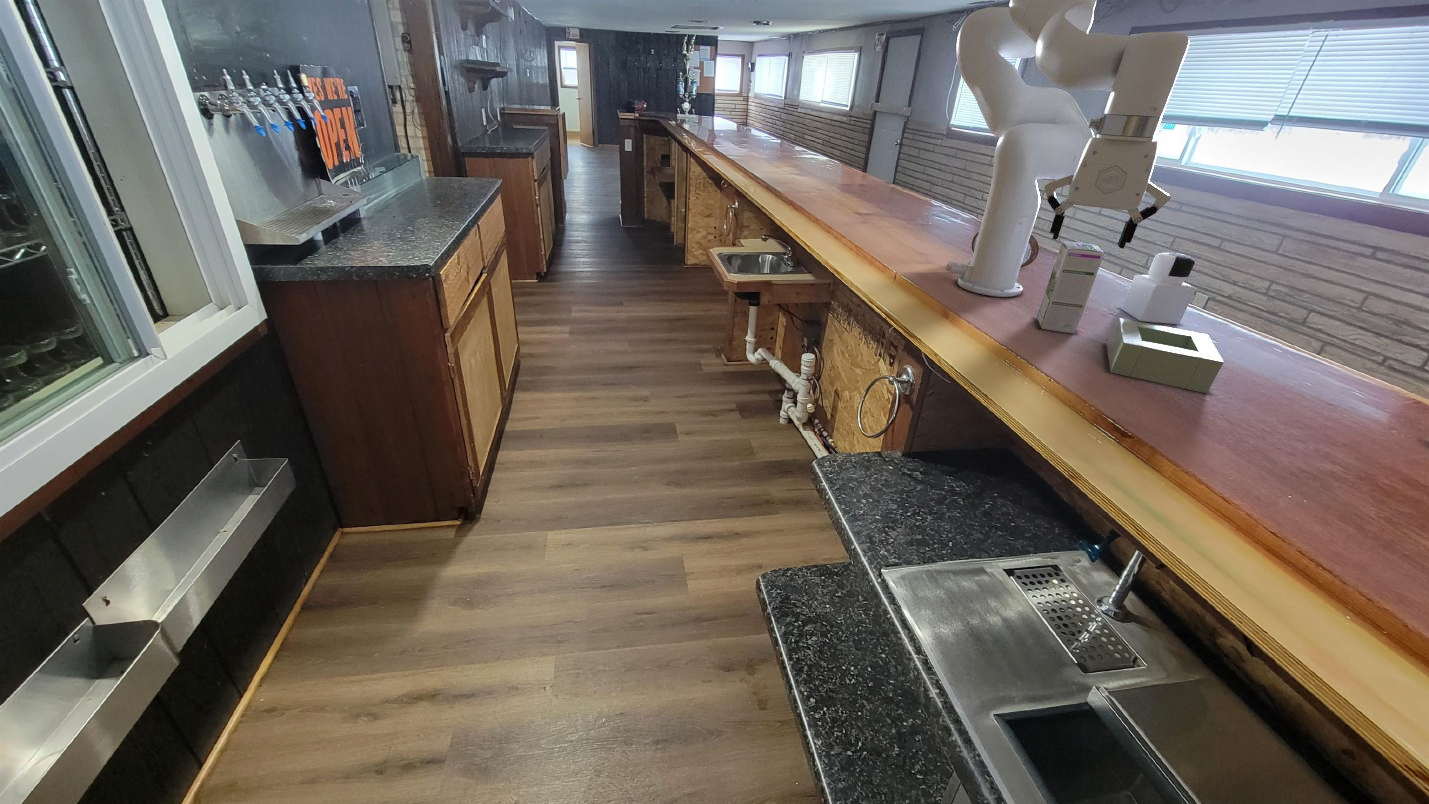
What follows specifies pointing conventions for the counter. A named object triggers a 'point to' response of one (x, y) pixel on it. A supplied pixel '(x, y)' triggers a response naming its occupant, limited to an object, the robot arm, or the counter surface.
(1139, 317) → the medicine bottle
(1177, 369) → the socket block
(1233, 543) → the counter surface
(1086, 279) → the syrup box
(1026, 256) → the tin
